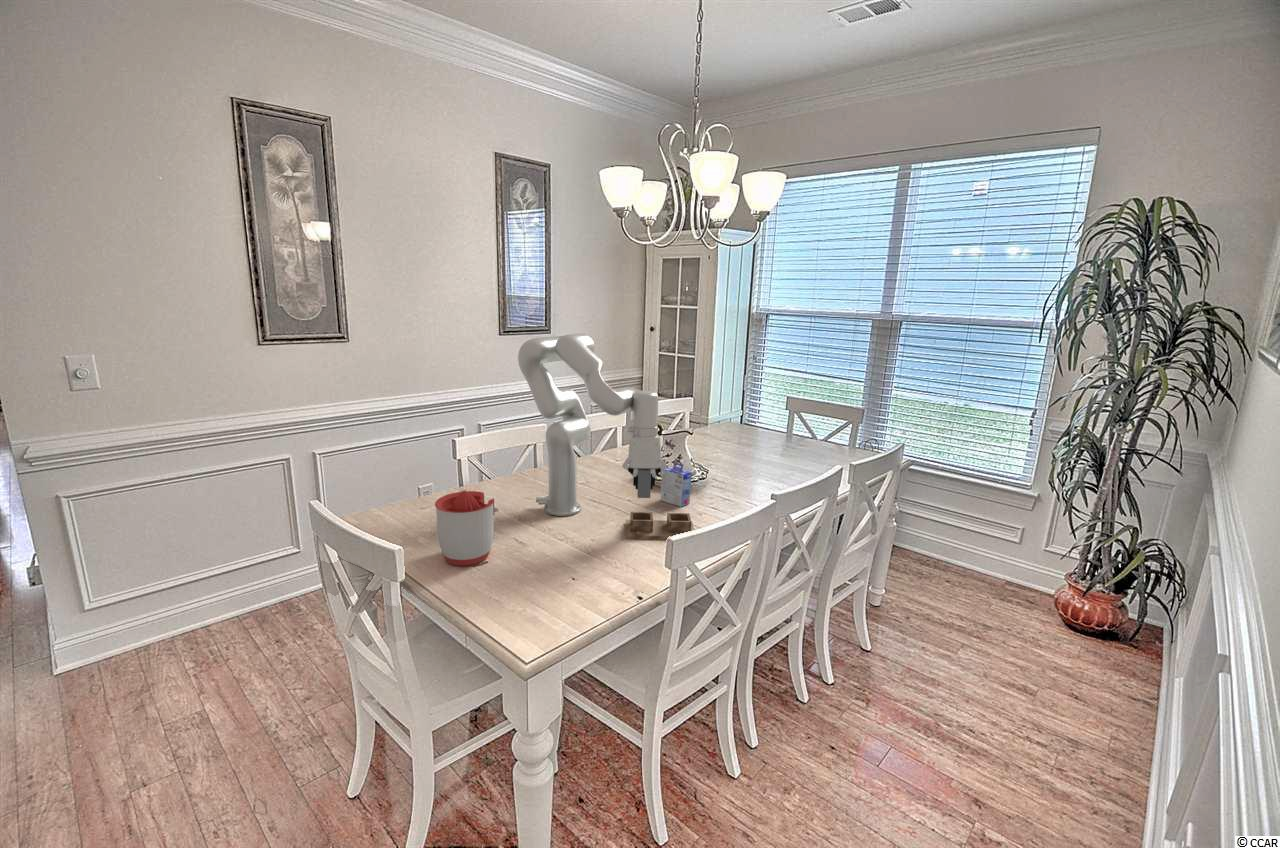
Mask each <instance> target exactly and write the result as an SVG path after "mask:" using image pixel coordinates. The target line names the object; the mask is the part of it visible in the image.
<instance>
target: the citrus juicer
mask: <svg viewBox="0 0 1280 848" xmlns="http://www.w3.org/2000/svg"><path fill="white" fill-rule="evenodd" d="M434 505H435V512H436V530H437V532H436V533H437V538H438V539H437V540H438V544H439V546H440V549H441V553H442V556H443V558H444V560H445V562H447V563H448V564H450V565H454V566H459V567H465V566H472V565H476V564H479V563H482V562H483V561H485V560H486V559H487V558H488V556H489V554H490V553H491V552H490V551H491V549H492V545H493V542H494V534H495V533H494V531H495V528H494V527H495V519H494V517H495V513H499V512H500V510H499V509H498V507H495V498H491V499H490V500H488V502H487V503H485V492H482V491H477V490H476V491H473V490H472V491H470V490H462V491H457V492H452V493H448V494H445V495H443V496H441V497H439V498H438V499H437V500H436V501H435V503H434Z"/></svg>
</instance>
